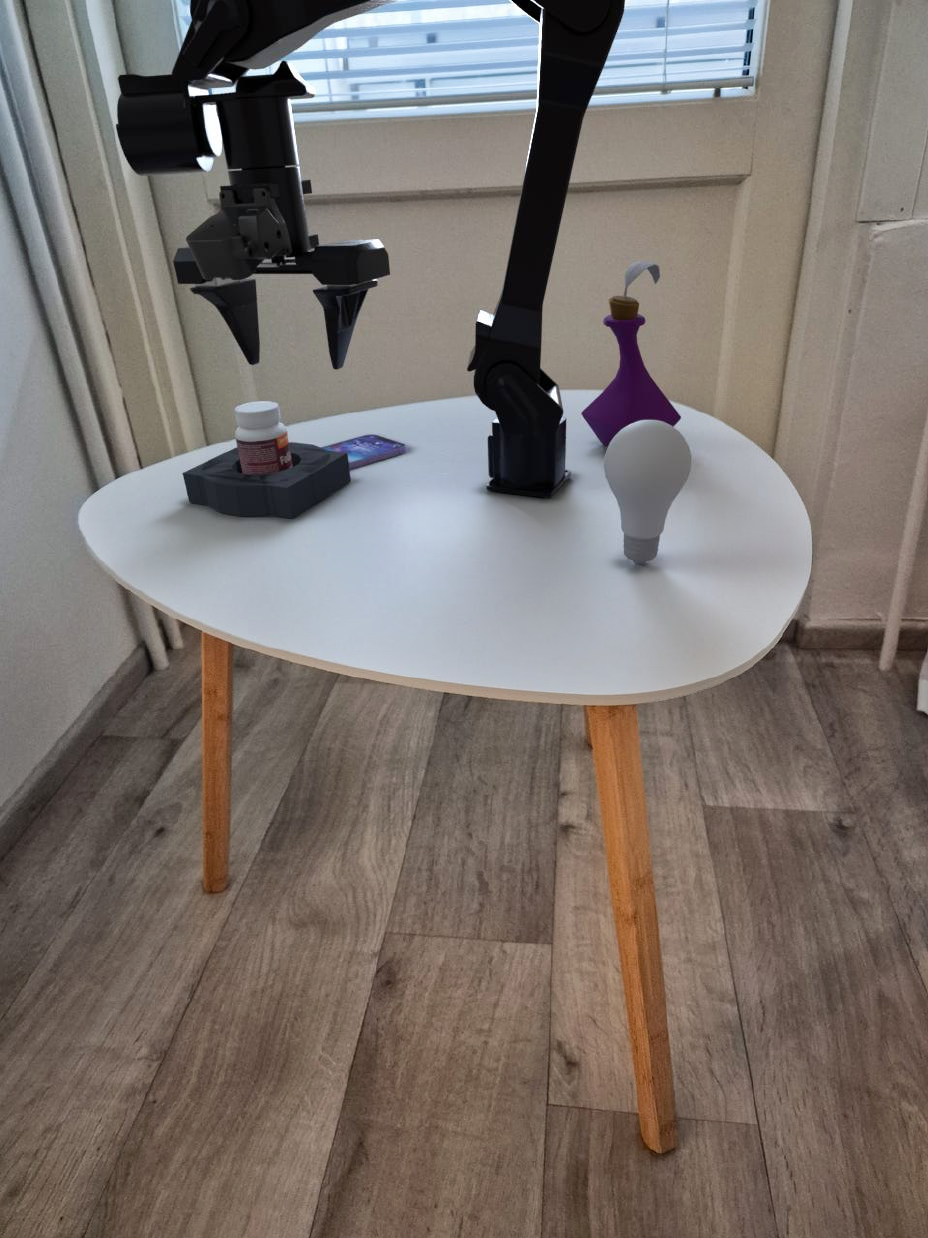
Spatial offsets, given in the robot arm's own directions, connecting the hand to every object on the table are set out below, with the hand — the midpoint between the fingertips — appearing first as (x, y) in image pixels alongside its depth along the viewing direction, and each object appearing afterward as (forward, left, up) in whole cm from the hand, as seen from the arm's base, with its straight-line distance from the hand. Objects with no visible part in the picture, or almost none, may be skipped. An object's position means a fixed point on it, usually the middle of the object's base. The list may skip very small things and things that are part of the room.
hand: (295, 366), depth 72 cm
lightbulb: (-34, +5, -12) cm, 36 cm away
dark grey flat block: (+3, +2, -12) cm, 12 cm away
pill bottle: (+3, +2, -12) cm, 13 cm away
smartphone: (+3, -8, -12) cm, 15 cm away
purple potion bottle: (-26, -22, -12) cm, 36 cm away
